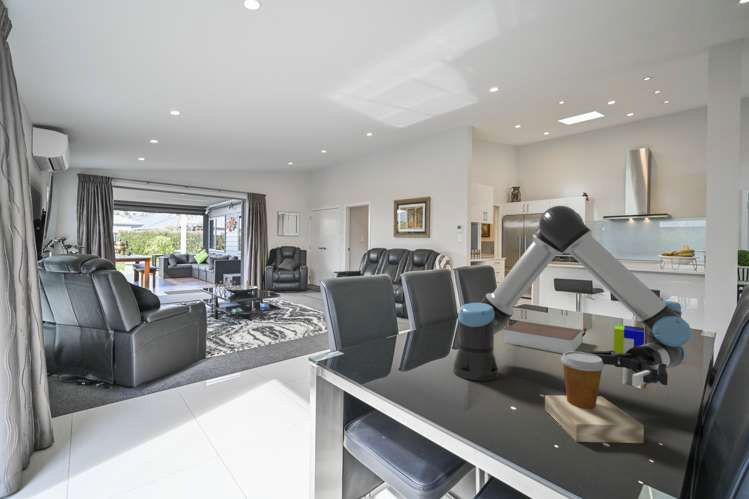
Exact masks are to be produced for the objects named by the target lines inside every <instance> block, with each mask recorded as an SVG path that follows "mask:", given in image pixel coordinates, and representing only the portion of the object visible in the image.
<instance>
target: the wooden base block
mask: <svg viewBox="0 0 749 499" xmlns="http://www.w3.org/2000/svg"><path fill="white" fill-rule="evenodd" d="M544 411H546V413H547V414H548V413H549V414H550V415H551V416H552V417H553V418H554V419H555V420H556V421H557V422H558V423H559V424H558V423H557V422H556V421H555V420H554V419H553V420H554V421H555V422H556V423H557V424H558V425H559V426H560V425H561V426H562V427H561V426H560V427H561V428H562V429H563V430H564V431H565V432H566V433H567V434H568V435H569V436H570V438H572V440H574V441H575V442H577V443H614V444H615V443H616V444H617V443H622V444H623V443H627V444H628V443H629V444H644V435H645V433H644V432H645V431H644V430H645V425H644V424H642V423H640V422H639V421H638V420H637V419H635V418H634V417H632V416H631V415H629V414H628V413H626V412H625V411H624V410H622V409H621V408H619V407H617V406H616V405H615V404H614V403H612V402H610V401H609V400H607V399H606V398H605V397H604V396H602V395H599V396H598V395H597V401H596V407H595V408H591V409H586V408H580V407H577V406H574V405H572V404H570V403H569V402H568V401H567V395H549V394H547V395H544ZM550 415H549V416H550ZM551 416H550V417H551ZM552 417H551V418H552Z"/></svg>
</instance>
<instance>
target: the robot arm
mask: <svg viewBox="0 0 749 499" xmlns="http://www.w3.org/2000/svg"><path fill="white" fill-rule="evenodd" d="M592 232H593V231H592V229H591V228H589V227H588V226H587V225H586V224H585V223H584V220H583V218H582V216H581V215H580V213H578V212H577V211H575V209H573V208H571V207H570V206H565V205H555V206H551V207H549V208H548V209H547V210H545V211H544V212H543V213H542V214H541V216H540V219H539V223H538V227H537V228H536V229H535V231H534V232H533V234H532V239H533V240H532V242H531V243H530V245H529V246H528V247H527V249H526V250H525V251H524V253H523V254H522V255H521V257H520V258H519V259H517V262H516V263H515V264H514V265H513V267H511V269H510V271H509V272H508V273H507V274H506V275H505V277H504V278H503V279H502V281H501V282H499V284H498V286H497V287H496V288H495V290H494V291H493V292H488V293H486V294H485V295H484V296H483V298H482V299H481V301H480V302H469V303H465V304H463V305H461V306H460V308H459V310H458V311H459V312H458V350H457V352H456V356H455V359H454V361H453V364H452V365H453V368H452V369H453V370H452V371H453V373H454V374H455V375H457V376H458V377H461V378H462V379H466V380H470V381H477V382H478V381H479V382H487V381H494V380H496V379H498V378H499V374H500V373H499V371H500V370H499V369H500V368H499V366H498V363H497V359H496V356H495V352H494V348H495V347H494V345H495V344H494V342H495V340H494V339H495V335H496V334H497V333H499V332H501V331H502V330H503V329H505V328H506V324H507V322H508V321H509V320H510V318H512V317H513V315H514V314H515V312H514V308H515V305H517V303H518V302H519V301H520V300H521V298H522V297H523V296H524V295H525V293H526V292H527V291H528V290H529V288H530V287H531V286H532V285H533V284H534V283H535V281H536V280H537V279H538V277H539V276H540V275H541V274H542V273H543V271H545V269H546V268H547V267H548V266H549V265H550V263H551V262H552V261H553V259H554V258H555V257H556V256H559V255H564V254H570V255H571V256H572V257H573V258H574V259H575V260H576V261H577V262H578V263H579V264H580V265H581V266H583V268H584V269H585V270H586V271H587V272H588V273H590V274H591V275H592V276H593V277H594V279H595V280H596V281H598V282H599V283H600V284H601V285H602V286H603V287H604V288H605V289H607V291H608V292H609V293H610V294H612V296H614V297H615V298H616V299H617V301H619V302H620V304H622V305H623V306H624V307H625V308H626V309H627V310H628V311H629V312H630V313H631V314H632V315H634V317H635V318H637V319H638V320H639V321H640V322H641V323H642V325H644V326H645V327H646V328H647V343H644V345H640V346H636V347H633V348H630V349H629V350H628V351H627V352H626V353H624V354H622V353H616V352H615V351H614V350H606V351H605V350H604V351H603V350H602V351H601V350H598V351H597V350H596V351H594V350H593V351H590V350H585V351H584V350H582V351H581V352H585V353H589V354H593V355H596V356H598V357H600V358H601V359H602V362H603V364H604V365H609V366H614V367H616V368H624V369H627V370H628V369H629V370H631V371H632V372H634V373H633V374H632V376H631V377H632V378H631V386H632V387H634V388H637V387H640V386H643V385H647V384H652V383H653V384H658V382H659V383H660V384H661V385H664V386H668V376H669V374H668V371H667V370H668V369H671V368H674V367H677V366H679V365H680V364H682V363H683V362H684V361H686V359H687V350H686V348H685V346H684V345H687V343H689V342H690V341H691V339H692V333H693V332H692V328H691V327H690V324H689V323H688V322H687V321H686V320H684V319H683V318H682V314H683V312H682V305H681V304H680V303H679V302H677V301H671V300H663V299H661V298H660V297H659V296H658V295H657V294H656V293H655V292H654V291H652V290H651V288H649V287H648V286H647V285H646V284H645V283H644V282H643V281H641V280H640V279H639V278H638V277H637V276H636V275H635V274H634V273H633V272H632V271H631V270H630V269H628V268H627V267H626V266H625V265H624V264H623V263H622V262H621V261H620V260H618V258H616V257H615V256H614V255H613V254H612V253H611V252H610V251H609V250H608V249H607V248H606V247H604V246H603V245H602V244H601V243H600V242H599V241H597V239H595V238H594V237H593V235H592V234H593V233H592Z"/></svg>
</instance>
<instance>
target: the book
mask: <svg viewBox="0 0 749 499" xmlns="http://www.w3.org/2000/svg"><path fill="white" fill-rule="evenodd" d="M502 330H503V343H504V344H509V345H513V346H514V345H515V346H519V345H520V347H525V348H526V347H527V348H530V347H531V348H532V349H536V350H542V351H546V352H553V353H558V354H562V355H563V353H564V352H569V351H576V350H577V349H578V348H579V346H581V344H583V332H584V331H583V329H578V328H572V327H565V326H559V325H558V326H557V325H551V324H544V323H537V322H532V321H531V322H530V321H523V320H518V321H516V322H514V323H513V324H510V325H509V326H507V327H506V326H505V327H504V328H503V329H502Z"/></svg>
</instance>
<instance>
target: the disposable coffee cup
mask: <svg viewBox="0 0 749 499" xmlns="http://www.w3.org/2000/svg"><path fill="white" fill-rule="evenodd" d="M560 361H561V363H562V367H563V374H564V376H563V377H564V383H565V385H564V386H565V392H566V396H567V401H568V402H569V403H570V404H572V405H574V406H577V407H580V408H586V409H591V408H595V407H596V401H597V396H598V394H599V388H600V382H601V377H602V370H603V368H604V366H605V364H603V362H602V359H601V358H600V357H598V356H596V355H593V354H589V353H585V352H582V351H576V350H575V351H569V352H564V353H563V354H562V356H561V357H560Z"/></svg>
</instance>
